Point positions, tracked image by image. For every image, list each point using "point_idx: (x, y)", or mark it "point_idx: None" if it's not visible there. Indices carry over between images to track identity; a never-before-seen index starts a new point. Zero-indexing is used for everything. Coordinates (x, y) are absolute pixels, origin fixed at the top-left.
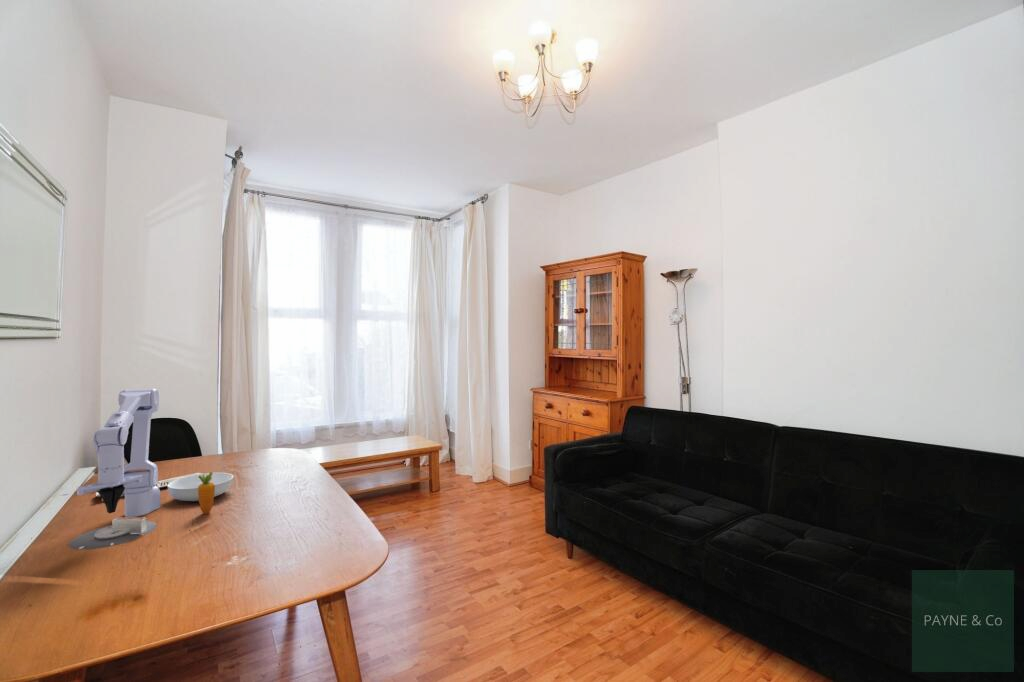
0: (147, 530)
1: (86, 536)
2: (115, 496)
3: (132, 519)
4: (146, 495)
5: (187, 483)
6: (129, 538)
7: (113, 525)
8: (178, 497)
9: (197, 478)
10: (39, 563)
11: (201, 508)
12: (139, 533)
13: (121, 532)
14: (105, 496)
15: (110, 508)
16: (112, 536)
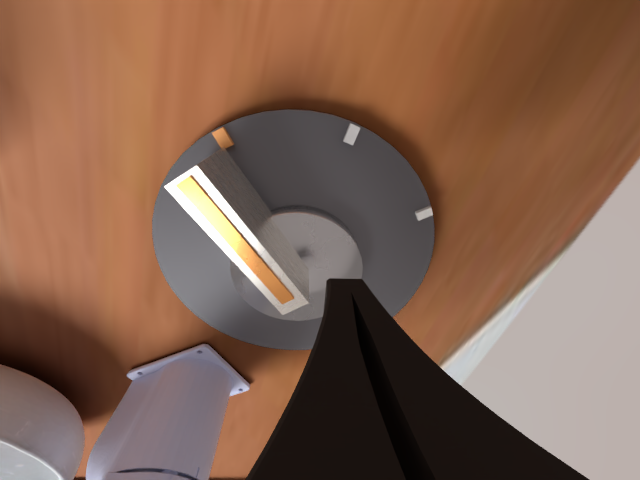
0: None
1: None
2: (363, 405)
3: (237, 222)
4: (136, 443)
5: (25, 478)
6: (276, 151)
7: (305, 278)
8: (50, 402)
9: None
10: (521, 218)
11: None
12: None
13: (291, 214)
14: (519, 446)
15: (368, 300)
16: (323, 216)
